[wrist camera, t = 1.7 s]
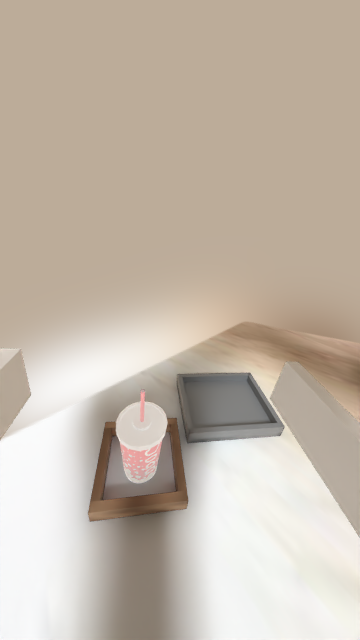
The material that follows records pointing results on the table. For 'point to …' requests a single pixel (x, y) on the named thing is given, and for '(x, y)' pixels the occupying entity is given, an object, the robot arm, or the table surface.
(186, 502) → the holder
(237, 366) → the table surface
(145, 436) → the beverage cup
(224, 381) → the tray
